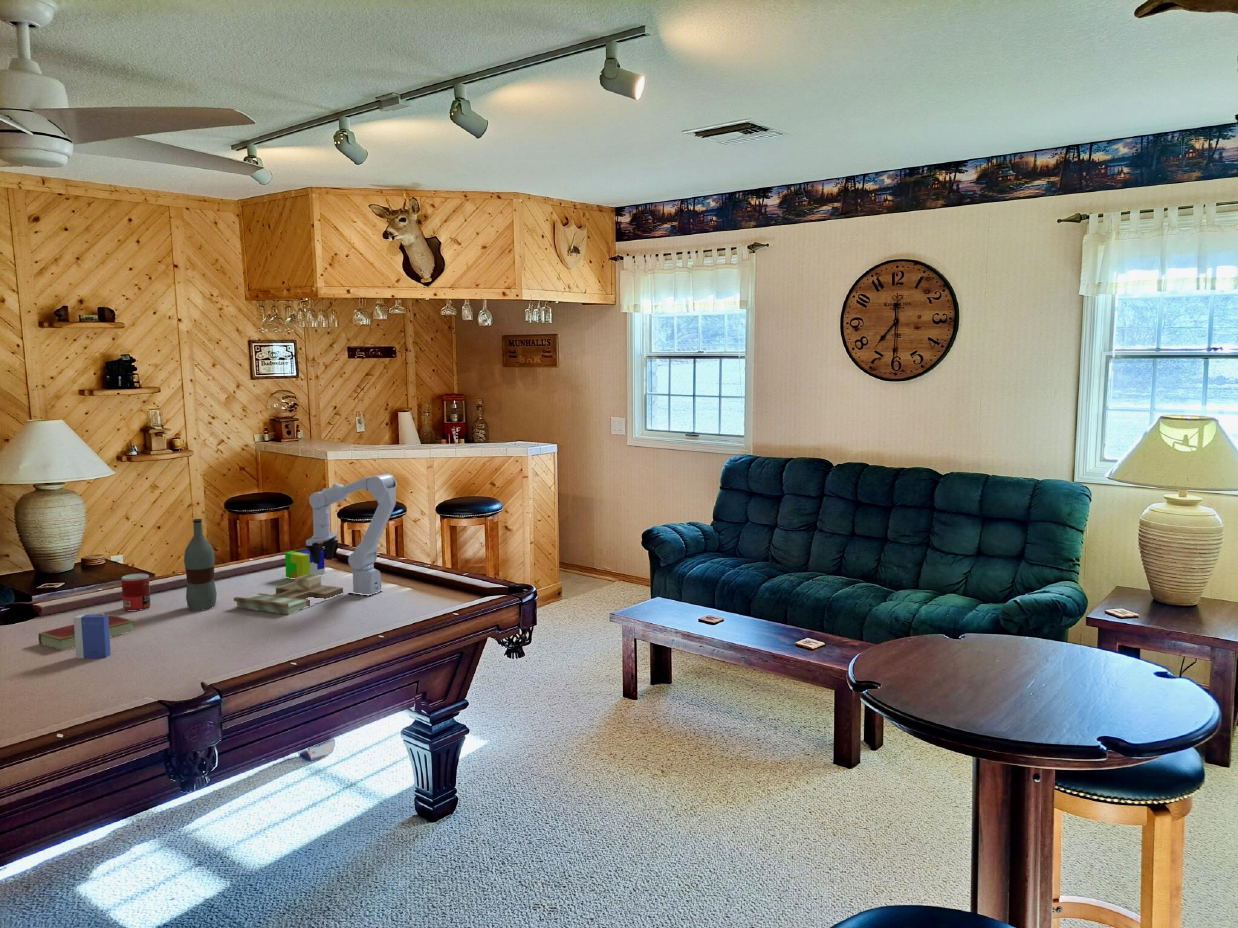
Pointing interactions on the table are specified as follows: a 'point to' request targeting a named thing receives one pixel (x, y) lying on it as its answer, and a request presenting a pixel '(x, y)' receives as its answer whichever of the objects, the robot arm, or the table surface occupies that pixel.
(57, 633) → the hardcover book
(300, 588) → the maple block
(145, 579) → the canned food
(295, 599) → the trap deck
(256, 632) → the table surface
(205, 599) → the bottle
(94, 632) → the walkman
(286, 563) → the puzzle toy
